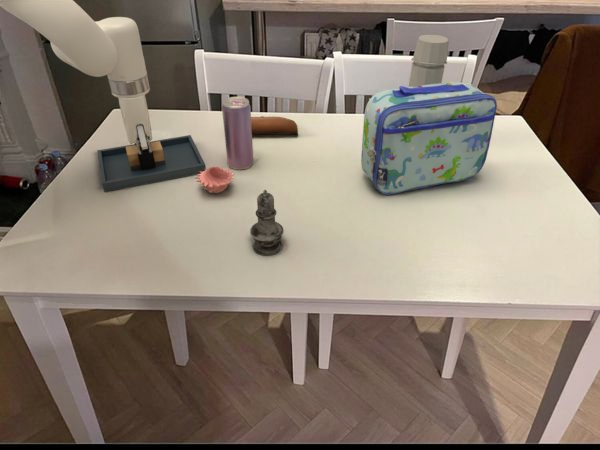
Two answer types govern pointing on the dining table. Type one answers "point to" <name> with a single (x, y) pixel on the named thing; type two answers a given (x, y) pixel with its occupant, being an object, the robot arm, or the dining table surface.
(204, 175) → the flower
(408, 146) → the lunch box
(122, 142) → the dining table surface
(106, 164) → the tray
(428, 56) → the water bottle
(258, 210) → the chess bishop
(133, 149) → the eraser
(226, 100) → the beverage can
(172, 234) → the dining table surface
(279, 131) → the sunglasses case
